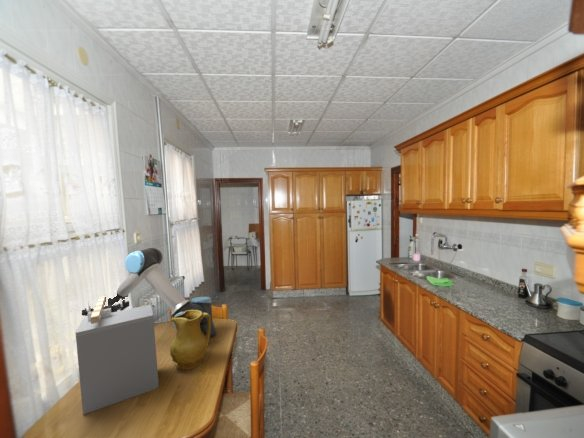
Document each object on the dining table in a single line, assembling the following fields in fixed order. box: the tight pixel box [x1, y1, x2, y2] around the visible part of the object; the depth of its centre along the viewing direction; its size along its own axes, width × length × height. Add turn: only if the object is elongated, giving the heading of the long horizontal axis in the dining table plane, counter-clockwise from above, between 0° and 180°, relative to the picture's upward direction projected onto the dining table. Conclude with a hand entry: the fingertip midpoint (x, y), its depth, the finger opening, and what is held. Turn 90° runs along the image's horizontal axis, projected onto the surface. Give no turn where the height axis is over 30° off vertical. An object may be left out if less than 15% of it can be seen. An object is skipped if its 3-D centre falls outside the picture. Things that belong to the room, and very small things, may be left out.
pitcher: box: [169, 310, 211, 371], centre depth 131 cm, size 17×19×25 cm
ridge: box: [86, 308, 112, 321], centre depth 113 cm, size 2×8×3 cm, turn 121°
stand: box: [75, 303, 160, 416], centre depth 113 cm, size 16×26×32 cm, turn 121°
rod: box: [91, 295, 106, 324], centre depth 113 cm, size 30×2×2 cm, turn 31°
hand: (104, 304), depth 131 cm, fingers open, 13 cm apart
